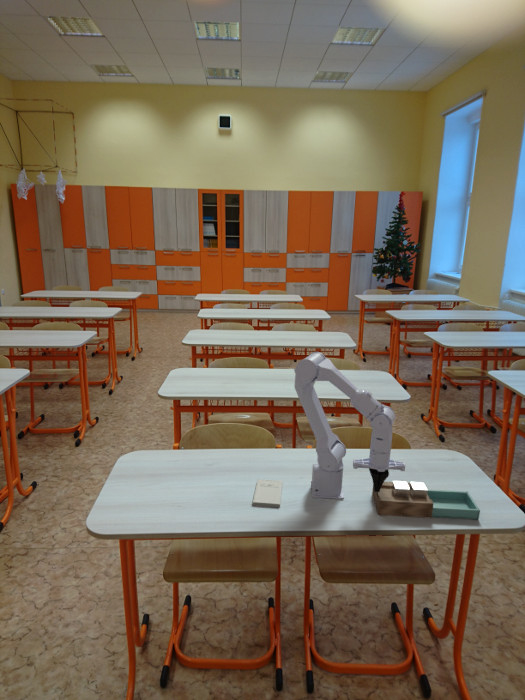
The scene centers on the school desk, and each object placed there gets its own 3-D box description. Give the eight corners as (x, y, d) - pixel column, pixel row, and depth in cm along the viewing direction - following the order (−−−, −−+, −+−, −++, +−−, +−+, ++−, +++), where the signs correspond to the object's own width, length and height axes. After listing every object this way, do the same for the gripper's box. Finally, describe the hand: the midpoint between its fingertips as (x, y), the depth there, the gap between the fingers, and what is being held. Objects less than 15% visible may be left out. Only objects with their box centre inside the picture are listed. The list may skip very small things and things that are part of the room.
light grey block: (412, 498, 127) (413, 489, 127) (408, 490, 131) (410, 481, 130) (426, 499, 127) (427, 490, 126) (422, 491, 131) (423, 482, 130)
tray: (431, 517, 126) (433, 507, 125) (422, 497, 135) (423, 489, 134) (478, 519, 125) (480, 510, 124) (466, 500, 134) (467, 491, 133)
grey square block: (394, 497, 128) (395, 488, 127) (391, 489, 132) (392, 480, 131) (408, 498, 127) (409, 489, 127) (405, 490, 131) (406, 481, 131)
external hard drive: (252, 506, 130) (257, 483, 142) (280, 508, 129) (282, 485, 141) (252, 502, 130) (257, 478, 142) (280, 504, 129) (282, 480, 141)
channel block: (378, 514, 126) (379, 500, 125) (372, 494, 136) (373, 481, 135) (431, 517, 125) (433, 503, 124) (421, 497, 135) (423, 483, 134)
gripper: (356, 454, 123) (353, 496, 126) (409, 456, 122) (404, 499, 125) (353, 442, 130) (350, 483, 133) (403, 444, 129) (399, 485, 132)
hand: (376, 490), depth 130 cm, fingers closed
